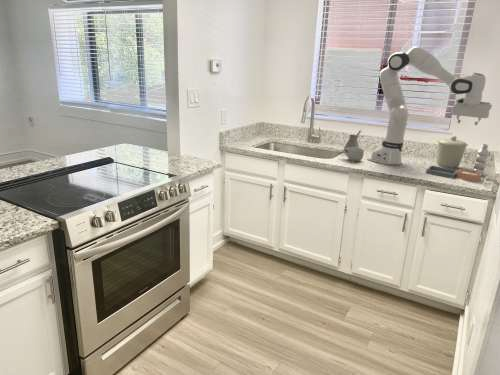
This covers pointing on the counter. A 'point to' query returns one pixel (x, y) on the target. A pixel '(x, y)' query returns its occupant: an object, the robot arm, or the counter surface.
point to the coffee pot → (352, 142)
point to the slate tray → (441, 171)
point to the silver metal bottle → (481, 159)
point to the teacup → (354, 153)
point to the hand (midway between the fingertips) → (467, 123)
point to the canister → (450, 152)
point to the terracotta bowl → (468, 176)
